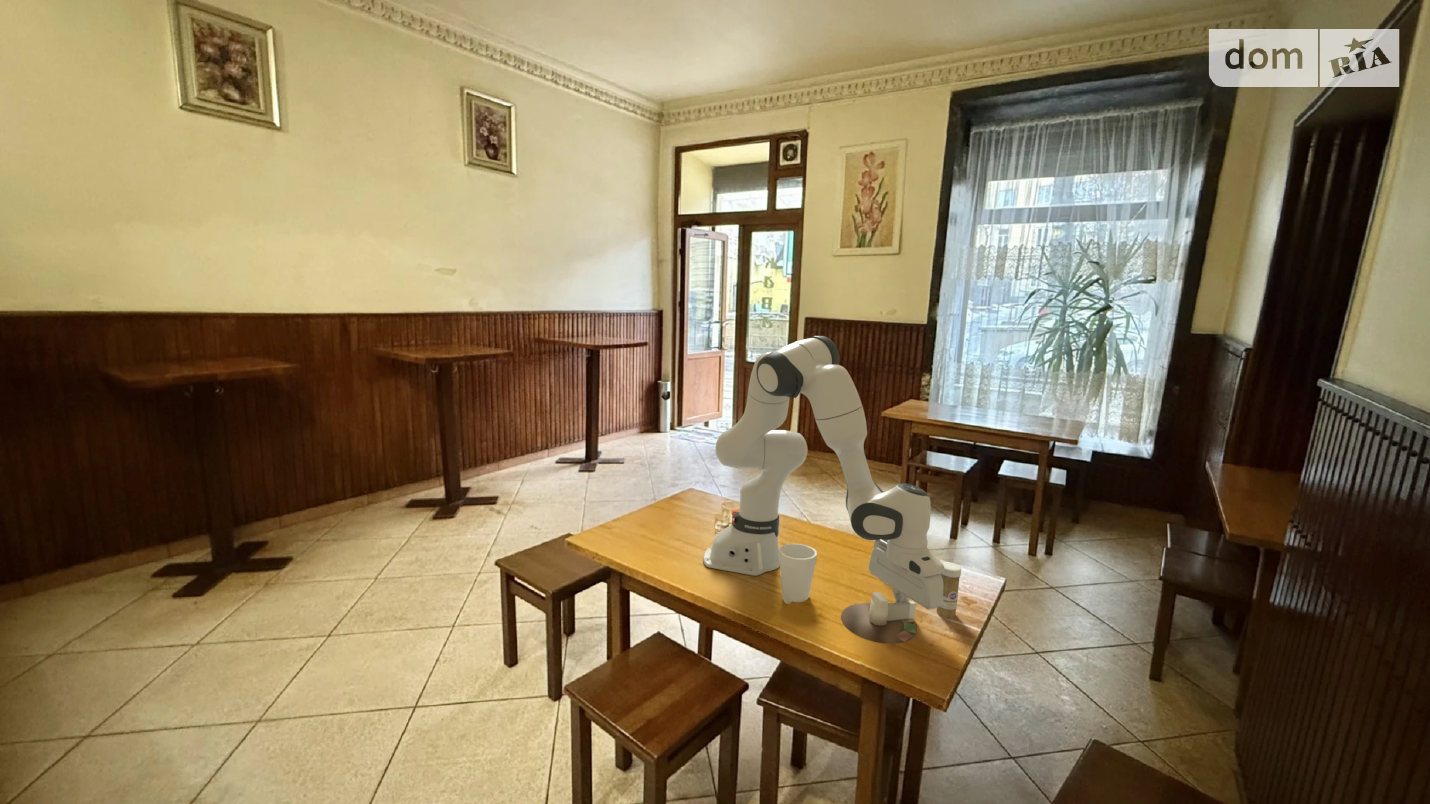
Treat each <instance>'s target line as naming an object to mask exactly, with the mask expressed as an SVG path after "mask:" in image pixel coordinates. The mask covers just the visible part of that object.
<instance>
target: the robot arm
mask: <svg viewBox="0 0 1430 804" xmlns="http://www.w3.org/2000/svg"><path fill="white" fill-rule="evenodd" d="M800 394H802V395H804V396H805V397H806V398H807V399H808V401H809V403H810V405H811V409H812V412H813V417H814V420H815V423H816V425H817V428H818V431H819V433H820V434H821V437H822V439H823V441H824V443H825V444H826V446H827V447H829V448H830V449H831V450H833V451H834V453H835V454H836V456H837V458H838V460H839V463H840V466H841V469H842V473H843V476H844V479H845V482H846V485H847V486H846V488H847V489H846V494H845V495H846V496H845V508H846V510H847V513H848V517H849V520H850V521H849V522H850V524H851V528H852V529H853V531H854V533H855V534H856V535H857V536H859V537H860V538H861V539H864V540H866V541H867V540H868V541H874V542H873V549H872V552H871V555H870V558H869V564H868V569H869V573H870V574H871V575H872V576H874V577H875V578H877V579H878V580H880V581H882V582H883V583H884V584H886V585H888V586H890V587H891V588H892V592H893V593H892V594H893V596H894V599H895V602H894V603H896V602H907V601H910V600H911V601H914V602H915V603H916V604H918V605H920V606H921V607H923V608H924V609H925V610H928V611H929V610H934V609H937V608H938V607H939V606H940V605H941V604H942V599H943V579H942V576H941V575H940V573H943V572H944V565H943V564H942V563H943V562H942V561H940V560H939V559H938V558H937V557H936V556H935V554H933V552H932V551H931V550H930V549H929V548H928V545H929V543H928V542H929V541H928V538H927V537H928V536H927V535H928V532H929V529H930V526H931V524H930V523H931V514H932V513H931V509H932V507H931V506H932V505H931V498H930V496H929V495H928V493H927V492H926V491H925V490H924V489H922V488H920V487H919V486H917V485H914V484H910V483H897V484H896V485H895V486H894V487H892V488H890V489H888V490H885V491H883V490H882V488H881V487H880V486H878V484H877V483H876V482H875V481H874V479H873V477H872V474H871V471H870V468H869V464H868V460H867V457H866V454H865V449H864V447H865V446H864V444H865V441H866V438H867V436H868V428H867V427H868V426H867V420H866V415H865V411H864V406H863V404H862V400H861V397H860V395H859V392H858V390H857V388H856V386H855V383H854V381H853V379H852V377H851V375H850V374H849V371H848V370H847V369H846V368H845V367H844V366H842V365H840V352H839V349H838V347H837V345H836V344H835V342H834V341H833V340H832V339H831V338H829V337H827V336H824V335H814V336H809V337H807V338H804V339H801V340H800V339H799V340H796V341H793V342H791V343H789V344H787V345H785V346H783V347H780V348H778V349H777V350H774V351H766V352H764V353H761V354H760V355H759V356H757V358H756V359H755V361H754V364H753V368H752V371H751V373H750V378H749V383H748V391H747V396H746V397H747V398H746V405H745V409H744V413H743V414H742V416H741V417H740V419H739V420H738V421H737V422H736V424H734V425H733V426H732V427H730V428H729V429H727V430H725V431H723V432H722V433H721V434H720V435H719V436H718V437H717V441H716V443H715V454H716V457H717V460H718V461H719V462H720V464H722V465H723V466H724V467H729V468H735V469H739V470H740V469H742V470H743V469H747V470H748V469H750V470H751V469H752V470H754V469H756V470H757V469H759V470H760V469H761V471H760V473H759V474H758V475H757V476H756V477H753V478H751V479H750V480H747V481H746V482H744V484H743V485H742V486H741V489H740V494H739V495H740V496H739V510H738V509H735V508H734V509H733V510H732V512H731V516H732V517H731V518H732V519H731V524H730V525H729V526H727V527H724V529H722V530H720V531H718V533H717V534H716V535H715V537H714V539H713V542H712V544H711V546H709V547H708V548H707V549H706V550H705V552H704V554H703V559H702V560H703V564H704V566H706V567H707V568H710V569H715V570H721V571H726V572H727V571H728V572H732V573H738V574H743V575H748V576H760V575H761V574H764V573H767V572H771V571H774V570H777V569H779V568H780V561H779V549H780V547H779V538H778V537H779V534H780V525H781V524H780V515H779V506H780V505H779V504H780V497H781V491H782V488H783V486H784V484H785V482H786V480H787V479H788V477H789V476H790V475H791V474H792V473H793V472H794V471H796V469H798V468H799V467H801V466H802V465H803V463H804V462H805V461H806V458H807V456H808V445H807V441H806V439H805V438H804V436H803V435H802V434H801V433H800V432H795V431H791V430H786V429H778V428H779V427H781V426H782V425H783V423H785V421H786V419H787V417H788V411H789V405H790V399H797V397H798V396H799V395H800ZM884 540H888V542H885V541H884Z"/></svg>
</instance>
